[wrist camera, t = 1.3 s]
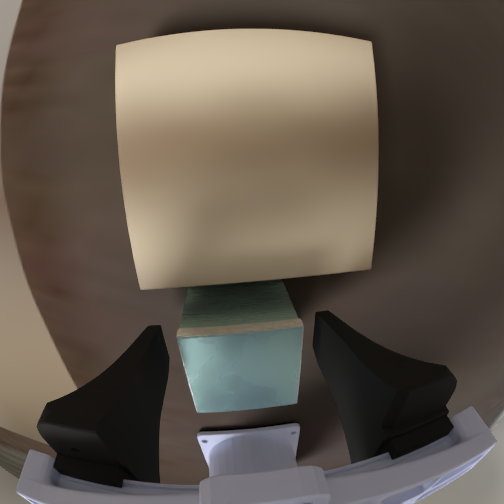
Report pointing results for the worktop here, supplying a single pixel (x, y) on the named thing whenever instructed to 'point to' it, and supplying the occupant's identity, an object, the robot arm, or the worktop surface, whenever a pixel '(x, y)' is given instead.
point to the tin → (241, 346)
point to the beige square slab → (247, 155)
